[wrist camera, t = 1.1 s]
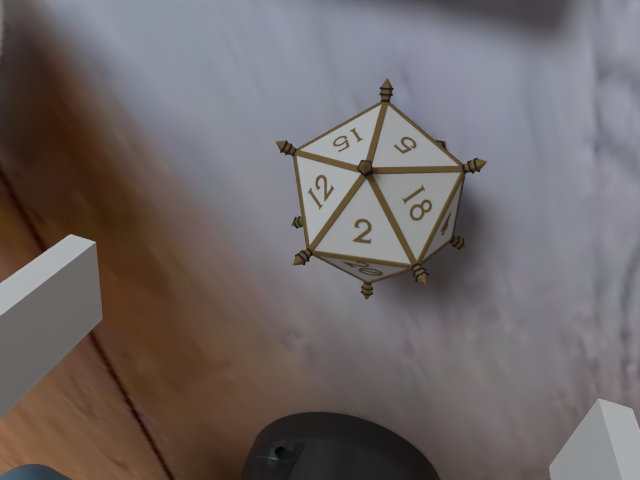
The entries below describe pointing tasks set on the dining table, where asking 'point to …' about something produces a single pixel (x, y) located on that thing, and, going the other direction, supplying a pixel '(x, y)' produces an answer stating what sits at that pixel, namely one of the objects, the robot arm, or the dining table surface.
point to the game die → (377, 195)
